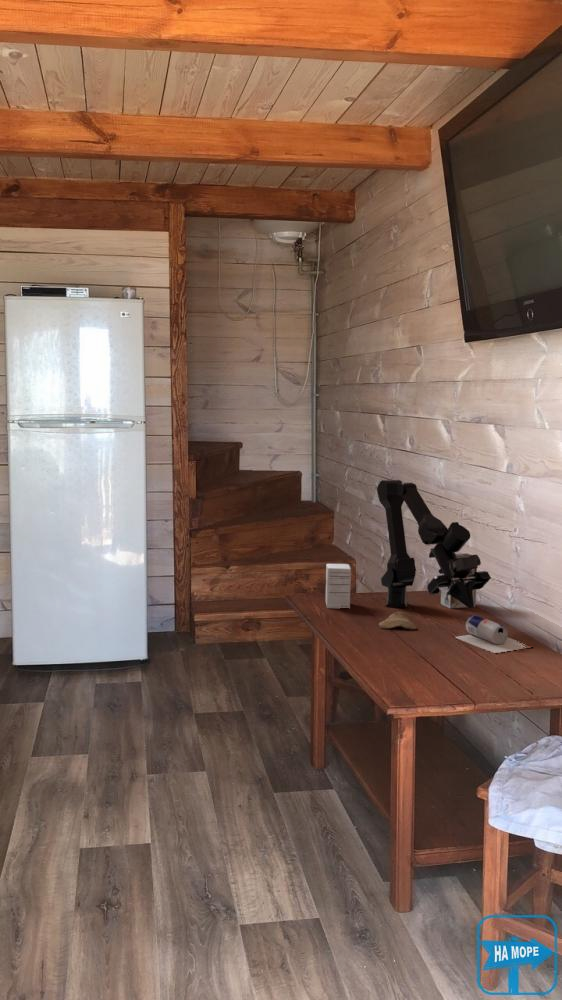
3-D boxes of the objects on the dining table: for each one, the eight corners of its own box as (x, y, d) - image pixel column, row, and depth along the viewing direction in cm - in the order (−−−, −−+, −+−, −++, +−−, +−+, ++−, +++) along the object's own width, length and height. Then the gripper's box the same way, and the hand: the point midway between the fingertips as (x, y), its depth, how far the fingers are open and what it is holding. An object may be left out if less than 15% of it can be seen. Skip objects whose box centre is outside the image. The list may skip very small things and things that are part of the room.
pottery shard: (417, 635, 244) (414, 618, 253) (418, 622, 243) (414, 605, 252) (379, 636, 245) (377, 619, 254) (379, 623, 243) (377, 606, 252)
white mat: (455, 637, 236) (455, 636, 236) (492, 632, 242) (492, 631, 242) (495, 653, 222) (495, 652, 222) (533, 647, 228) (533, 646, 228)
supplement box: (325, 602, 274) (326, 563, 272) (348, 603, 274) (349, 563, 272) (326, 608, 266) (327, 567, 265) (350, 608, 266) (351, 568, 265)
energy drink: (482, 615, 241) (510, 626, 230) (478, 634, 241) (506, 645, 230) (466, 613, 239) (494, 624, 228) (463, 632, 239) (490, 644, 228)
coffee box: (465, 602, 278) (467, 552, 276) (475, 607, 271) (478, 556, 270) (439, 604, 275) (441, 554, 273) (449, 608, 269) (451, 557, 267)
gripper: (435, 547, 238) (459, 595, 230) (488, 543, 247) (513, 588, 238) (416, 570, 246) (439, 617, 238) (468, 565, 255) (492, 610, 246)
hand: (472, 608), depth 240 cm, fingers closed
